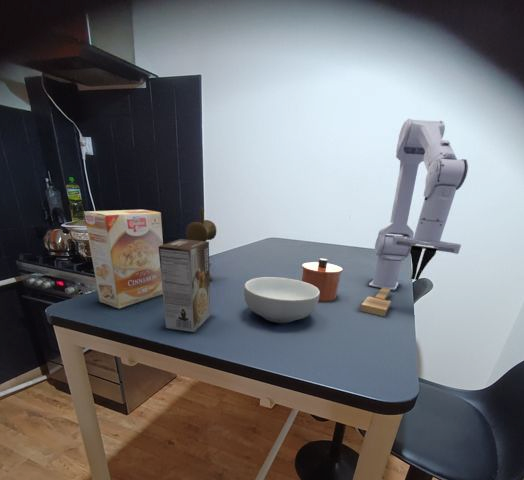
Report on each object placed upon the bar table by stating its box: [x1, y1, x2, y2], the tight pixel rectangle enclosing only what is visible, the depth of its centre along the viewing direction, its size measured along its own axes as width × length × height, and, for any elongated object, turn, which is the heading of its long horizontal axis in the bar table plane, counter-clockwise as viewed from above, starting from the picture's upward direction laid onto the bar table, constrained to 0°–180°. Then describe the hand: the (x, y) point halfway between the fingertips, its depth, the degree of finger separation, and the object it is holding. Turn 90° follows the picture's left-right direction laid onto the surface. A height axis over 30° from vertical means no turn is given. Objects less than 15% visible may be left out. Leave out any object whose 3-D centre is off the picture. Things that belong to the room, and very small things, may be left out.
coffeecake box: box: [83, 209, 164, 310], centre depth 73 cm, size 15×7×20 cm, turn 151°
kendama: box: [185, 206, 217, 281], centre depth 90 cm, size 6×10×20 cm, turn 169°
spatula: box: [359, 288, 392, 317], centre depth 86 cm, size 19×6×2 cm, turn 152°
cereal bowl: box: [243, 276, 320, 324], centre depth 71 cm, size 17×17×7 cm
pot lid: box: [301, 258, 343, 274], centre depth 85 cm, size 11×11×3 cm
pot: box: [301, 268, 342, 302], centre depth 87 cm, size 10×10×8 cm
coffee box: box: [159, 238, 211, 333], centre depth 63 cm, size 9×6×16 cm
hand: (414, 278), depth 79 cm, fingers closed
